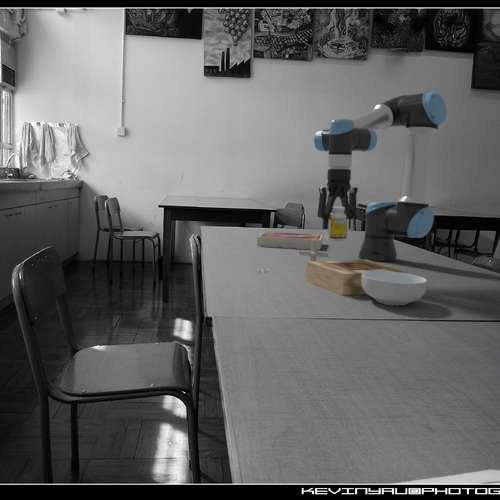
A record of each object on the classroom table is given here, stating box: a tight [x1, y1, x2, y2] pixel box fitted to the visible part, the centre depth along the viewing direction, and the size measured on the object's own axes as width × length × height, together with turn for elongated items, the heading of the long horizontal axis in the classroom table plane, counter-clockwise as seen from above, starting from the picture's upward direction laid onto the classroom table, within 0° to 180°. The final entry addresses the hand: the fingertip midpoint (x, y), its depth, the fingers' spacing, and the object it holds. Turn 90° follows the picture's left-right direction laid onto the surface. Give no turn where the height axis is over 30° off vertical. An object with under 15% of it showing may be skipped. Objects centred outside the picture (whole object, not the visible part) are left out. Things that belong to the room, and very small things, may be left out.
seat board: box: [306, 259, 408, 296], centre depth 155 cm, size 22×20×6 cm
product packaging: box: [256, 231, 323, 251], centre depth 242 cm, size 22×28×5 cm
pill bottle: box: [328, 205, 347, 242], centre depth 170 cm, size 6×6×11 cm
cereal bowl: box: [361, 271, 428, 307], centre depth 136 cm, size 17×17×7 cm
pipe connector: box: [299, 240, 329, 262], centre depth 183 cm, size 10×10×10 cm
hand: (336, 238), depth 171 cm, fingers closed on pill bottle, 6 cm apart
